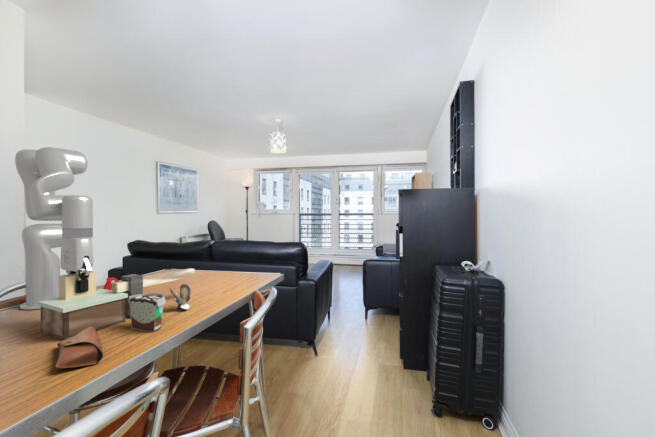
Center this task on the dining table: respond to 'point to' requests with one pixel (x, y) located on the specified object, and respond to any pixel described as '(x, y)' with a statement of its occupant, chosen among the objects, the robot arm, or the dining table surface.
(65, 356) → the sunglasses case
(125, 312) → the toolbox
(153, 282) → the cream wooden bar
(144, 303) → the food container
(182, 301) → the eagle figurine
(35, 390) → the dining table surface
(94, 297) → the lid
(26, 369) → the dining table surface
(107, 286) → the tracker holder
